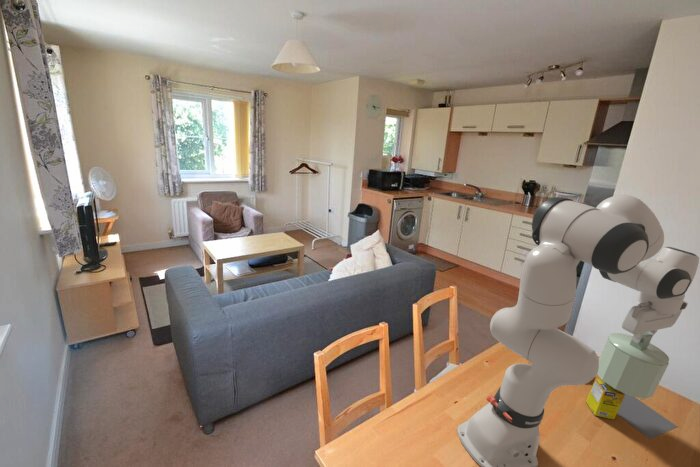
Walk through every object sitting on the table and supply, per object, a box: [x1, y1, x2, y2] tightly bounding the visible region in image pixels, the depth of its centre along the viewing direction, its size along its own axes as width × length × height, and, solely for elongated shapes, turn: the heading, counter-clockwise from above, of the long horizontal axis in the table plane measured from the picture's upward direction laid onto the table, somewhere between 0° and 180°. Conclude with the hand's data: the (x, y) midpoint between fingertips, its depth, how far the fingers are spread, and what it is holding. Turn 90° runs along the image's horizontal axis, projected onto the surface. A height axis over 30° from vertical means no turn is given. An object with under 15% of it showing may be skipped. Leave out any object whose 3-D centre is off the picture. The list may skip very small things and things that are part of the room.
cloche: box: [597, 332, 670, 400], centre depth 99 cm, size 14×14×18 cm
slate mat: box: [616, 393, 678, 440], centre depth 106 cm, size 15×15×1 cm
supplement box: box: [585, 377, 625, 421], centre depth 104 cm, size 6×6×11 cm
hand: (640, 340), depth 97 cm, fingers closed on cloche, 3 cm apart
